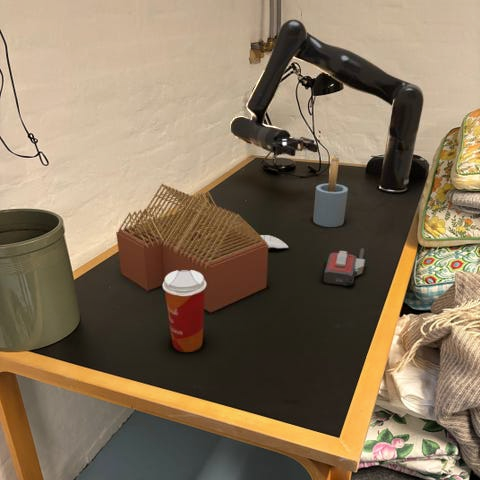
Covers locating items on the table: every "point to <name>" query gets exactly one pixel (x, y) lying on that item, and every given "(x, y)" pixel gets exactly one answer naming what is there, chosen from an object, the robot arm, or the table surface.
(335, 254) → the walkie-talkie
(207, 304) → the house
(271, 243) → the pincushion
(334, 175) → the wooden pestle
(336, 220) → the jar
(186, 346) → the paper cup
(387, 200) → the table surface
